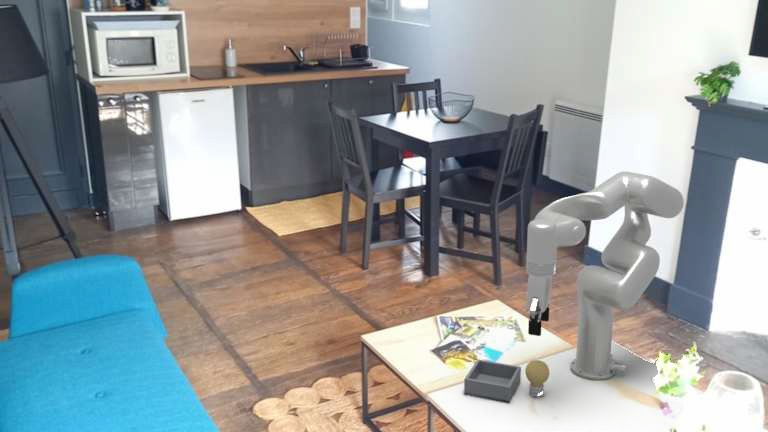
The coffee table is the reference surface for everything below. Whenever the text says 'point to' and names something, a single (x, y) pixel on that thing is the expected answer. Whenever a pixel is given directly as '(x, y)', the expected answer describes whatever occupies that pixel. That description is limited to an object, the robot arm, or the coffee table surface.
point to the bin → (492, 381)
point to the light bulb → (537, 376)
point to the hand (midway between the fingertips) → (538, 327)
